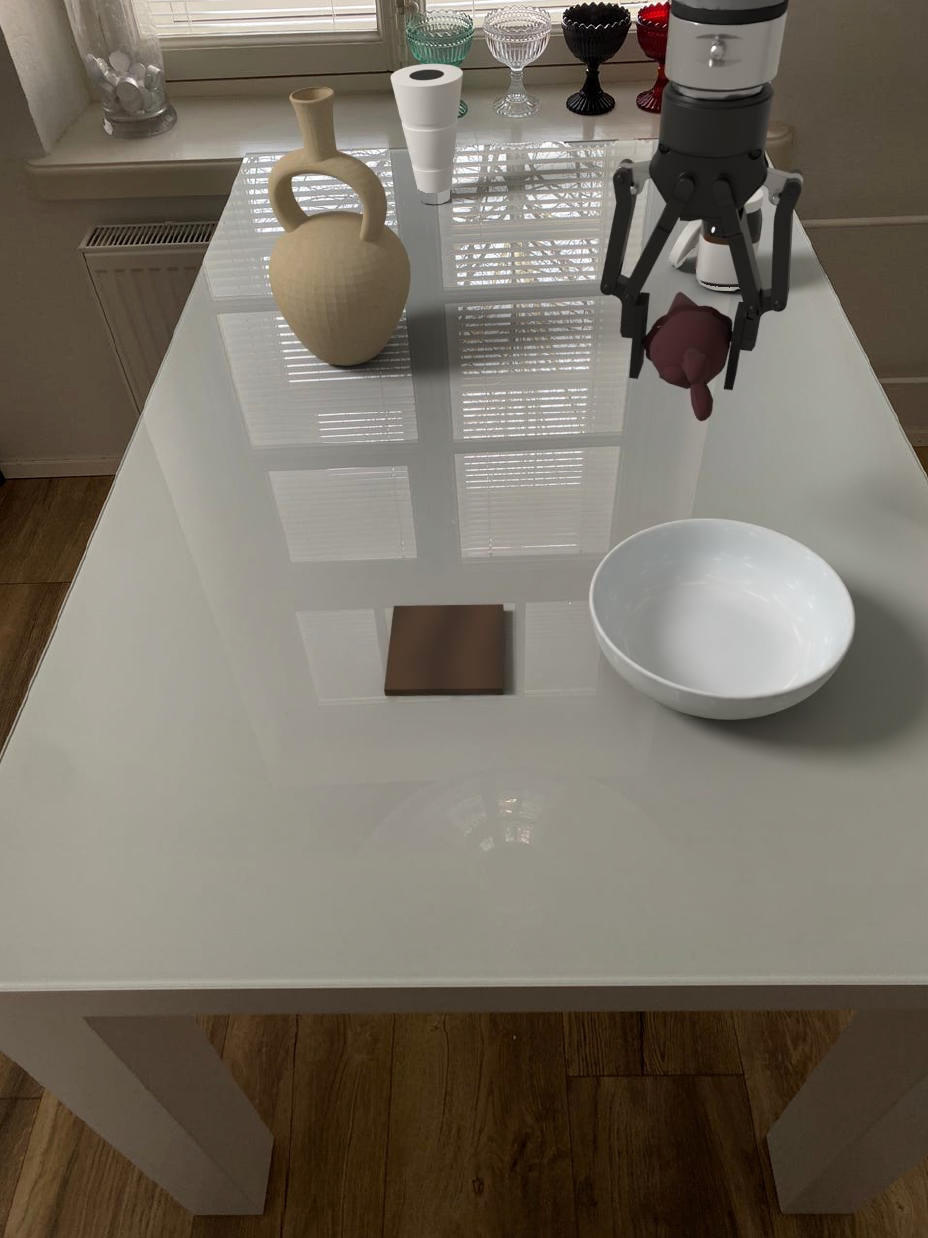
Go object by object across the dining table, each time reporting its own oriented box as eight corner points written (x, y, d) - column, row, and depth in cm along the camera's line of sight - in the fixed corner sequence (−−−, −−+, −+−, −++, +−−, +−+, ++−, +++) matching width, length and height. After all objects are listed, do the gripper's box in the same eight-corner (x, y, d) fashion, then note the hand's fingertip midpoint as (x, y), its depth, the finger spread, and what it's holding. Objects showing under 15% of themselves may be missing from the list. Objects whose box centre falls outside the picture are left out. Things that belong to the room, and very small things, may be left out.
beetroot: (630, 269, 83) (645, 374, 74) (717, 246, 81) (744, 351, 72) (643, 336, 88) (659, 442, 79) (726, 316, 86) (751, 422, 77)
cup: (440, 180, 159) (432, 59, 146) (482, 198, 153) (477, 73, 140) (389, 199, 154) (376, 75, 142) (429, 218, 148) (420, 91, 136)
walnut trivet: (503, 610, 87) (503, 603, 87) (503, 694, 80) (503, 688, 80) (394, 611, 88) (393, 605, 87) (385, 695, 81) (384, 689, 80)
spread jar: (754, 298, 125) (769, 209, 117) (666, 296, 127) (675, 208, 119) (749, 257, 134) (764, 171, 125) (667, 255, 135) (676, 170, 127)
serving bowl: (745, 548, 91) (757, 491, 86) (889, 704, 77) (914, 646, 72) (546, 611, 87) (547, 554, 82) (661, 789, 73) (671, 733, 68)
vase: (263, 379, 117) (204, 116, 96) (317, 314, 128) (274, 65, 107) (390, 396, 113) (358, 125, 92) (435, 327, 124) (415, 71, 103)
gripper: (562, 92, 66) (557, 384, 82) (872, 106, 61) (801, 414, 77) (587, 59, 71) (577, 341, 87) (875, 70, 66) (807, 366, 82)
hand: (682, 375), depth 82 cm, fingers closed on beetroot, 7 cm apart
